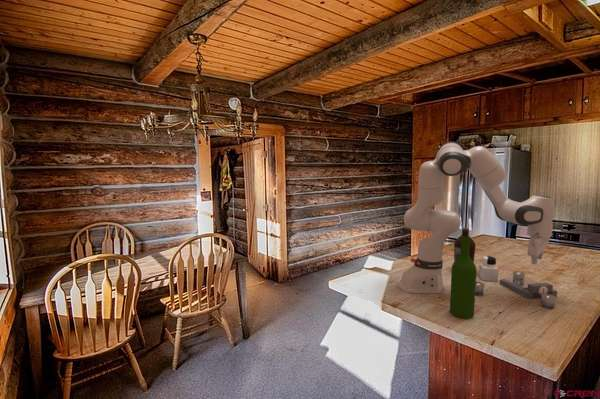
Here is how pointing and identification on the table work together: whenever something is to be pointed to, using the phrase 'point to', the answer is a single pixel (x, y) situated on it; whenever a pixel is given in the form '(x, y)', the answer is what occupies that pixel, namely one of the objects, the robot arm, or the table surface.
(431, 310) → the table surface
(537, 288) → the scale
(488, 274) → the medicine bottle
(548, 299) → the cylinder
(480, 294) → the cylinder
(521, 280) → the cylinder
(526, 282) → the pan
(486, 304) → the table surface
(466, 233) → the olive oil
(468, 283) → the wine bottle
